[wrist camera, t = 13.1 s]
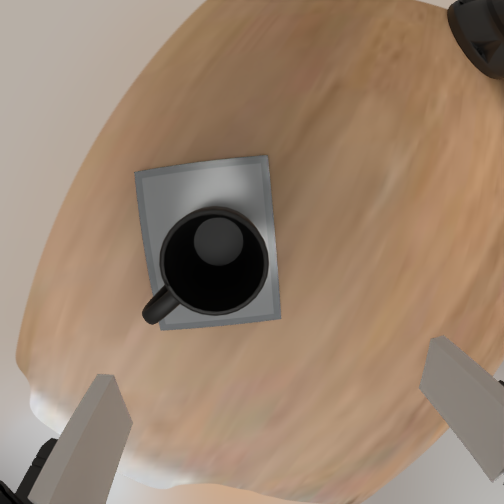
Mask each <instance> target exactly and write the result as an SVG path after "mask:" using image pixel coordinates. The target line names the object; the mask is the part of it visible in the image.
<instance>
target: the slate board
mask: <svg viewBox="0 0 504 504" xmlns="http://www.w3.org/2000/svg"><path fill="white" fill-rule="evenodd" d="M134 174H135V183H136V193H137V201H138V209H139V217H140V224H141V231H142V237H143V244H144V250H145V256H146V262H147V267H148V273H149V278H150V283H151V288H152V293H153V297H154V295H155V294H156V293H157V292H158V291H159V290H160V289H161V288H162V287H163V286H164V285H165V284H164V282H163V279H162V277H161V272H160V267H159V257H160V250H161V246H162V243H163V240H164V238H165V237H166V235H167V233H168V231H169V230H170V229H171V228H172V227H173V226H174V225H175V223H176V222H177V221H179V220H180V219H182V218H183V217H185V216H186V215H188V214H189V213H191V212H192V211H195V210H197V209H200V208H203V207H209V206H222V207H228V208H231V209H233V210H236V211H238V212H240V213H241V214H243V215H245V216H246V217H247V218H248V219H249V220H250V221H251V222H252V223H253V224H254V225H255V226H256V228H257V229H258V231H259V233H260V234H261V236H262V237H263V239H264V241H265V244H266V247H267V250H268V255H269V270H268V277H267V279H266V282H265V284H264V287H263V288H262V290H261V291H260V293H259V294H258V296H257V297H256V298H255V299H254V300H253V301H252V302H251V303H250V304H248V305H247V306H246V307H244V308H242V309H240V310H239V311H237V312H233V313H230V314H227V315H219V316H210V315H202V314H199V313H196V312H193V311H191V310H189V309H187V308H186V307H184V306H182V305H181V304H180V305H179V306H177V307H176V308H175V309H174V310H173V311H172V312H171V313H169V314H168V315H167V316H166V317H165V318H163V319H162V320H161V321H159V325H160V330H176V329H190V328H202V327H213V326H224V325H234V324H243V323H252V322H261V321H269V320H277V319H281V308H280V294H279V280H278V267H277V254H276V241H275V229H274V217H273V206H272V195H271V184H270V173H269V163H268V155H262V156H250V157H240V158H230V159H220V160H212V161H203V162H196V163H188V164H181V165H174V166H168V167H161V168H155V169H149V170H143V171H138V172H134Z"/></svg>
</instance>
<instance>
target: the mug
mask: <svg viewBox="0 0 504 504" xmlns="http://www.w3.org/2000/svg"><path fill="white" fill-rule="evenodd" d="M159 267H160V272H161V277H162V279H163V282H164V284H165V285H164V286H163V287H162V288H161V289H160V290H159V291H158V292H157V293H156V294H155V295H154V297H153V298H152V299H151V300H150V301H149V302H148V303H147V305H146V306H145V307H144V309H143V311H142V316H143V318H144V319H145V321H146V322H147V323H149V324H152V325H153V324H156V323H158V322H159V321H161V320H162V319H163V318H165V317H166V316H167V315H168V314H169V313H171V312H172V311H173V310H174V309H175V308H176V307H177V306H179V305H180V304H181V305H182V306H184V307H186V308H187V309H189V310H191V311H193V312H196V313H199V314H202V315H210V316H219V315H227V314H230V313H233V312H237V311H239V310H240V309H242V308H244V307H246V306H247V305H248V304H250V303H251V302H252V301H253V300H254V299H255V298H256V297H257V296H258V294H259V293H260V291H261V290H262V288H263V287H264V284H265V282H266V279H267V277H268V270H269V255H268V250H267V247H266V244H265V241H264V239H263V237H262V236H261V234H260V233H259V231H258V229H257V228H256V226H255V225H254V224H253V223H252V222H251V221H250V220H249V219H248V218H247V217H246V216H245V215H243V214H241V213H240V212H238V211H236V210H233V209H231V208H228V207H222V206H209V207H203V208H200V209H197V210H195V211H192V212H191V213H189V214H188V215H186V216H185V217H183V218H182V219H180V220H179V221H177V222H176V223H175V225H174V226H173V227H172V228H171V229H170V230H169V231H168V233H167V235H166V237H165V238H164V240H163V243H162V246H161V250H160V257H159Z"/></svg>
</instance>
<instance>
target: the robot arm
mask: <svg viewBox="0 0 504 504" xmlns="http://www.w3.org/2000/svg"><path fill="white" fill-rule="evenodd" d="M448 20H449V24H450V27H451V29H452V32H453V34H454V36H455V38H456V40H457V42H458V43H459V45H460V47H461V48H462V50H463V51H464V53H465V54H466V55H467V57H468V58H469V59H470V60H471V61H472V63H473V64H474V65H475V66H476V67H477V68H478V69H479V70H480V71H482V72H483V73H484V74H486V75H487V76H489V77H491V78H494V79H500V78H504V0H458V1H456V2H454V3H453V4H451V6H450V7H449V9H448ZM419 389H420V390H421V391H422V393H423V394H424V395H425V396H426V397H427V399H428V400H429V401H430V402H431V404H432V405H433V406H434V407H435V409H436V410H437V411H438V412H439V414H440V415H441V416H442V417H443V419H444V420H445V421H446V422H447V424H448V425H449V426H450V428H451V429H452V430H453V431H454V433H455V434H456V435H457V437H458V438H459V439H460V440H461V442H462V443H463V444H464V446H465V447H466V448H467V449H468V451H469V452H470V453H471V455H472V456H473V457H474V459H475V460H476V461H477V463H478V464H479V465H480V467H481V468H482V469H483V471H484V472H485V474H486V475H487V476H488V478H489V479H490V480H491V482H494V481H495V480H497V479H498V478H499V477H501V476H502V475H503V474H504V382H503V381H501V380H500V381H497V380H496V379H495V378H493V377H492V376H491V375H490V374H489V373H488V372H487V371H485V370H484V369H483V368H482V367H481V366H480V365H479V364H477V363H476V362H475V361H474V360H473V359H472V358H470V357H469V356H468V355H467V354H466V353H464V352H463V351H462V350H461V349H460V348H458V347H457V346H456V345H455V344H454V343H452V342H451V341H450V340H449V339H448V338H446V337H445V336H444V335H443V336H439V337H436V338H433V339H431V340H430V345H429V350H428V354H427V359H426V363H425V367H424V371H423V375H422V379H421V382H420V386H419ZM132 424H133V421H132V419H131V417H130V414H129V412H128V410H127V407H126V405H125V403H124V400H123V398H122V395H121V393H120V390H119V387H118V385H117V382H116V379H115V377H114V375H107V374H98V375H97V376H96V378H95V379H94V381H93V382H92V384H91V386H90V387H89V389H88V390H87V392H86V394H85V395H84V397H83V399H82V400H81V402H80V403H79V405H78V407H77V408H76V410H75V412H74V413H73V415H72V417H71V418H70V420H69V422H68V424H67V425H66V427H65V429H64V430H63V432H62V434H61V436H60V437H59V439H53V438H51V439H50V440H48V441H47V442H46V443H45V444H44V445H42V447H41V449H40V450H39V452H38V453H37V455H36V458H35V459H34V460H33V462H32V466H30V467H29V469H28V471H27V473H26V475H25V476H24V478H23V480H22V482H21V484H20V486H19V487H18V489H17V491H16V493H15V494H14V493H13V492H12V491H11V490H10V489H9V488H8V487H7V486H6V484H4V482H2V481H0V504H106V501H107V497H108V494H109V491H110V488H111V485H112V482H113V479H114V476H115V473H116V470H117V467H118V464H119V461H120V458H121V455H122V452H123V450H124V447H125V444H126V441H127V438H128V435H129V433H130V430H131V427H132Z"/></svg>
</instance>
